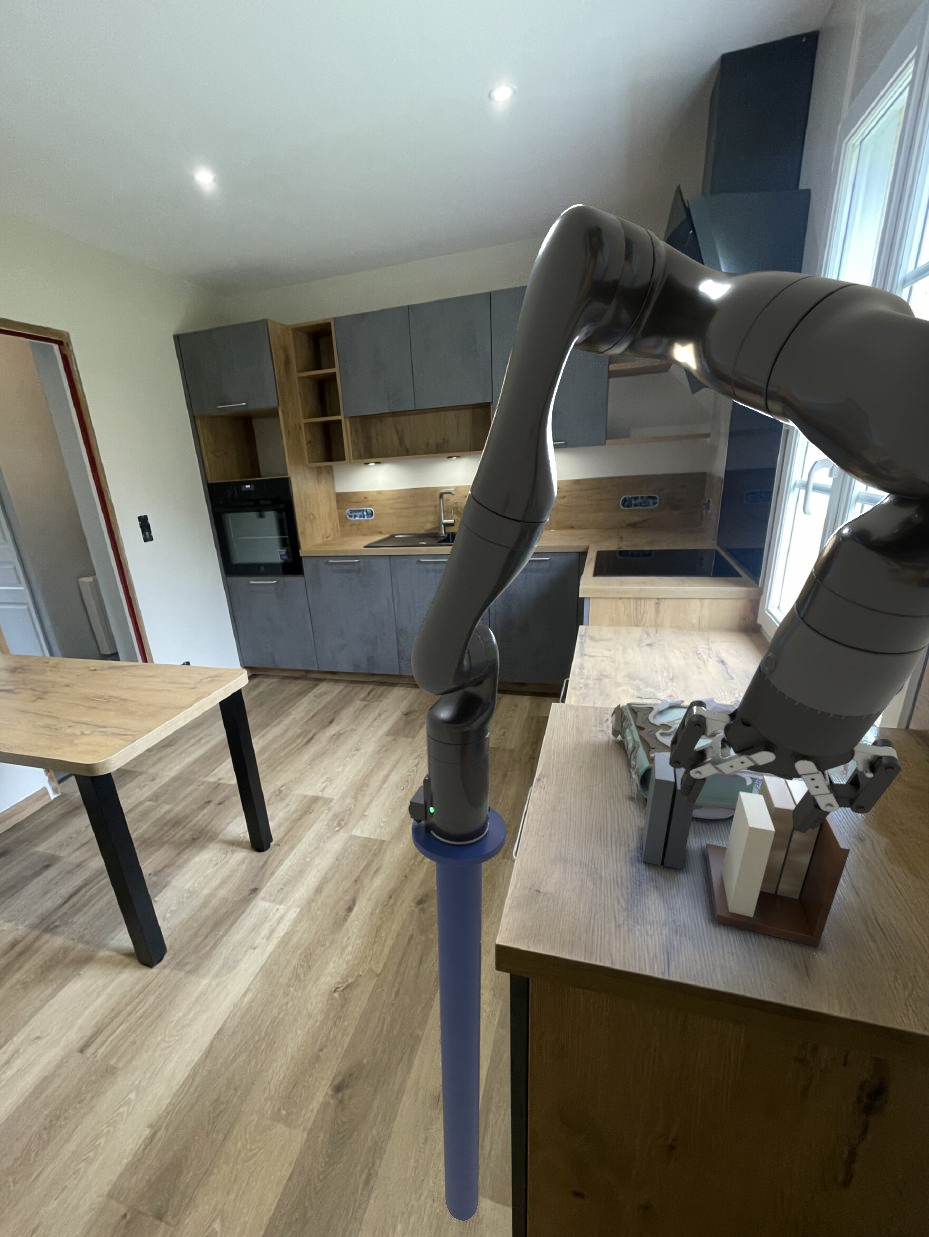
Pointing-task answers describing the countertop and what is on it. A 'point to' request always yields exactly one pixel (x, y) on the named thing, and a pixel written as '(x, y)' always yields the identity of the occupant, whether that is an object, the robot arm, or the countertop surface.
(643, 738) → the ornate book
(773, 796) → the book stand
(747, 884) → the ivory book
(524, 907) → the countertop surface
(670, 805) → the grey books
